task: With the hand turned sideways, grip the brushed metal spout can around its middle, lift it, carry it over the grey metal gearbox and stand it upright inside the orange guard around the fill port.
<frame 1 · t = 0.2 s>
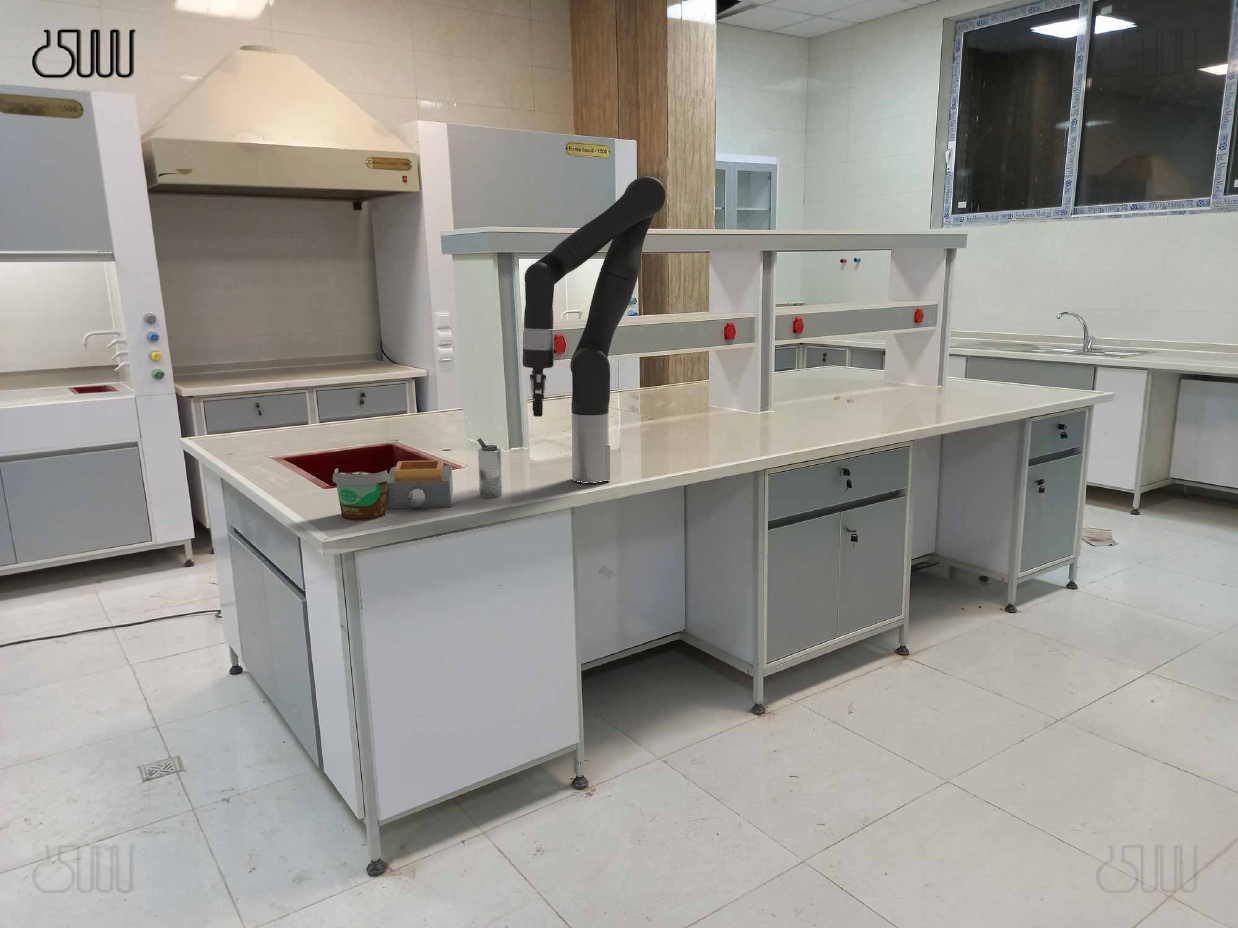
hand: (537, 414, 210), 17 cm above the countertop, tool pointing down, fingers open, 8 cm apart
gearbox: (420, 499, 197), on the countertop
spout can: (490, 495, 201), on the countertop
food container: (358, 518, 182), on the countertop
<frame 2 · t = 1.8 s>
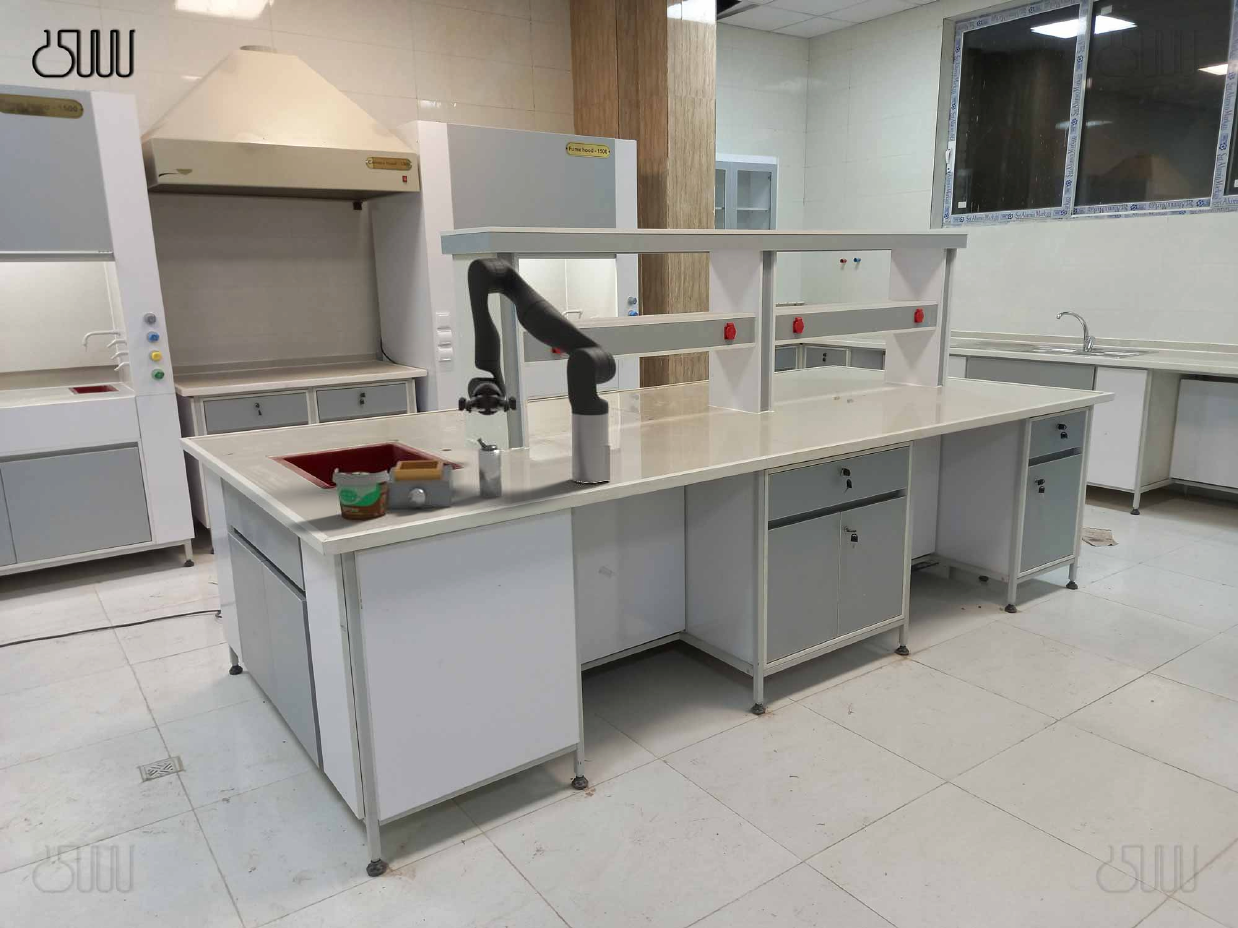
hand: (487, 408, 207), 19 cm above the countertop, tool horizontal, fingers open, 8 cm apart
nothing on the countertop moved.
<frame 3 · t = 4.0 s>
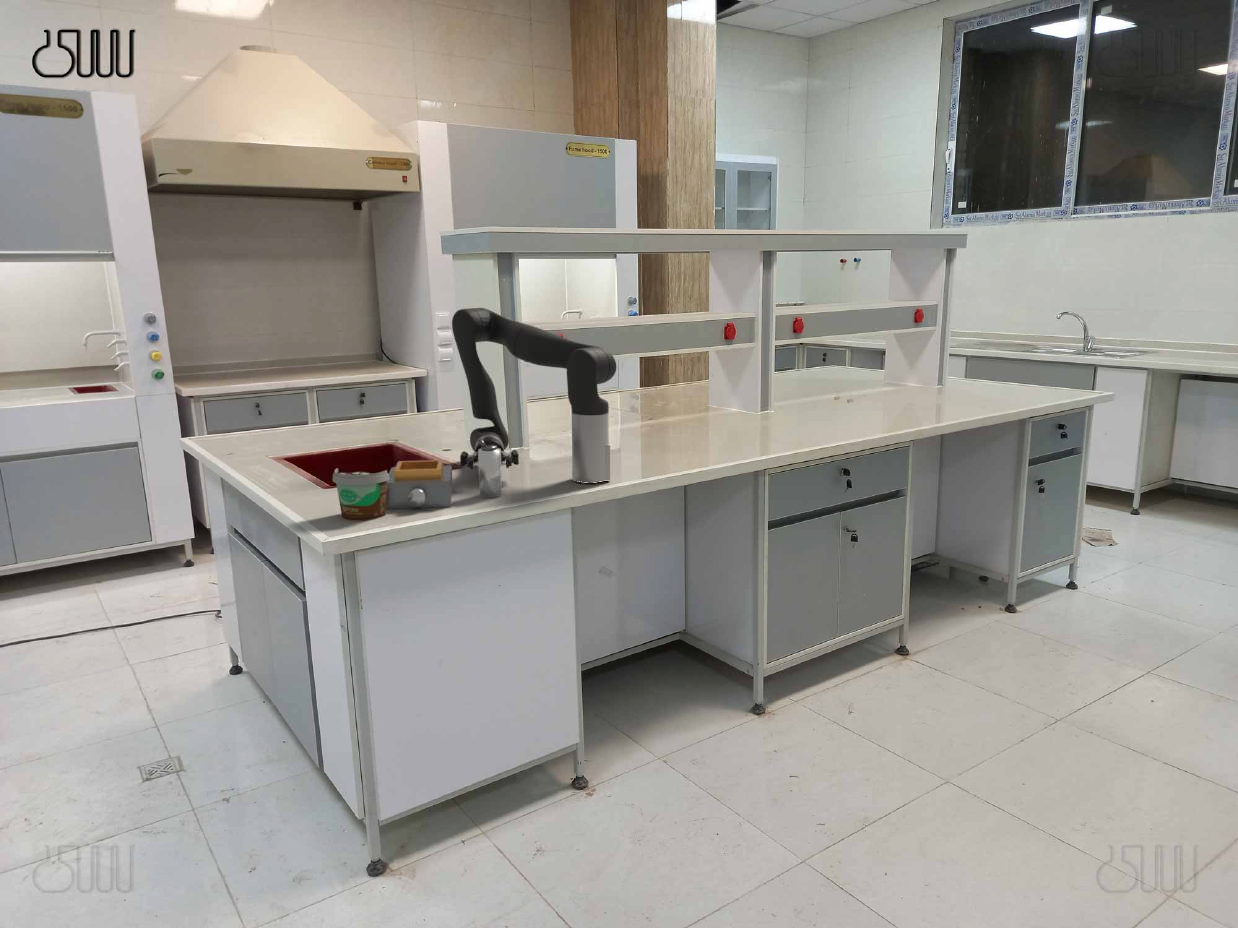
hand: (489, 464, 206), 6 cm above the countertop, tool horizontal, fingers open, 8 cm apart
nothing on the countertop moved.
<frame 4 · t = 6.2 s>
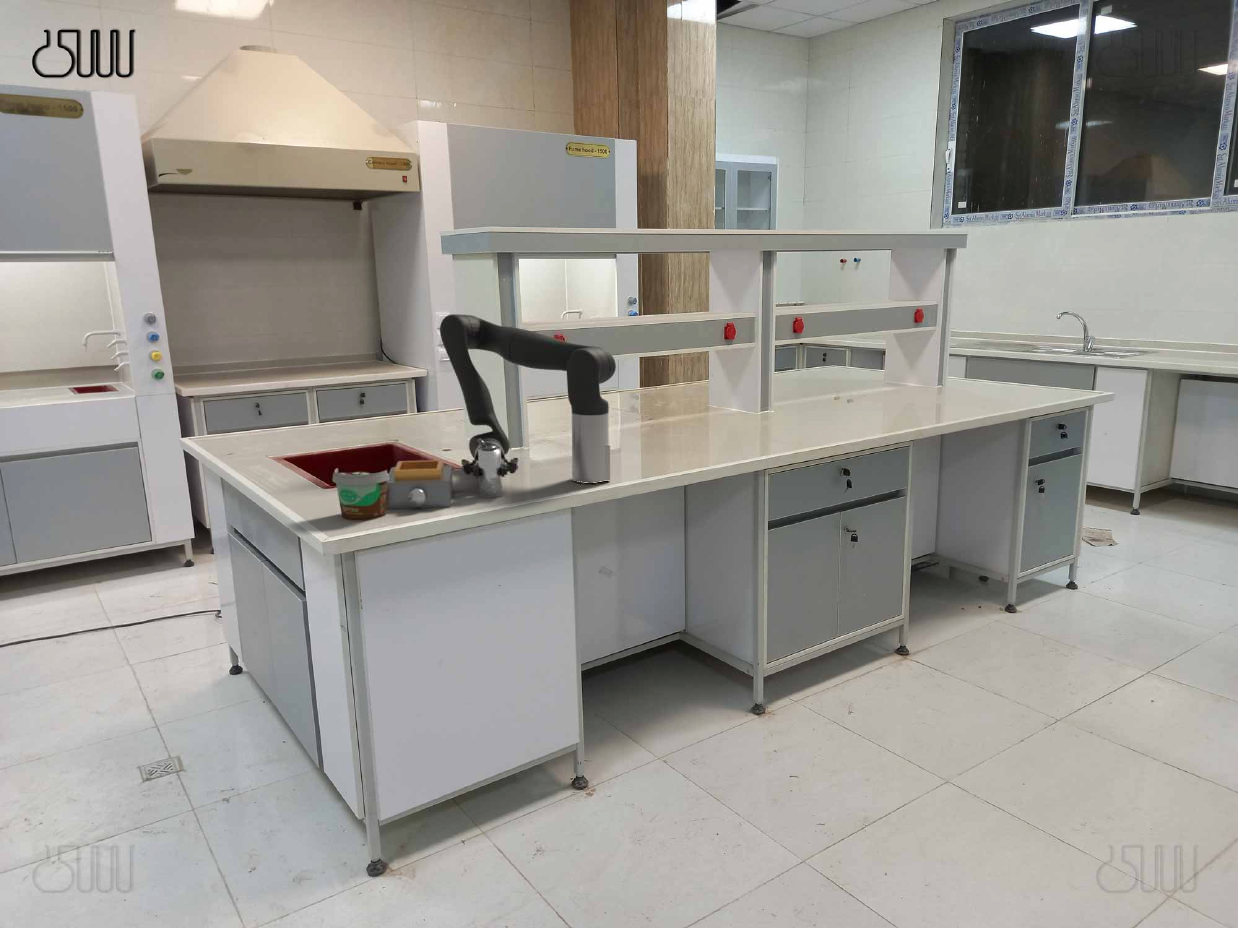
hand: (490, 473, 197), 6 cm above the countertop, tool horizontal, fingers closed on spout can, 5 cm apart
spout can: (490, 495, 201), on the countertop, touching gripper
everything else where it was.
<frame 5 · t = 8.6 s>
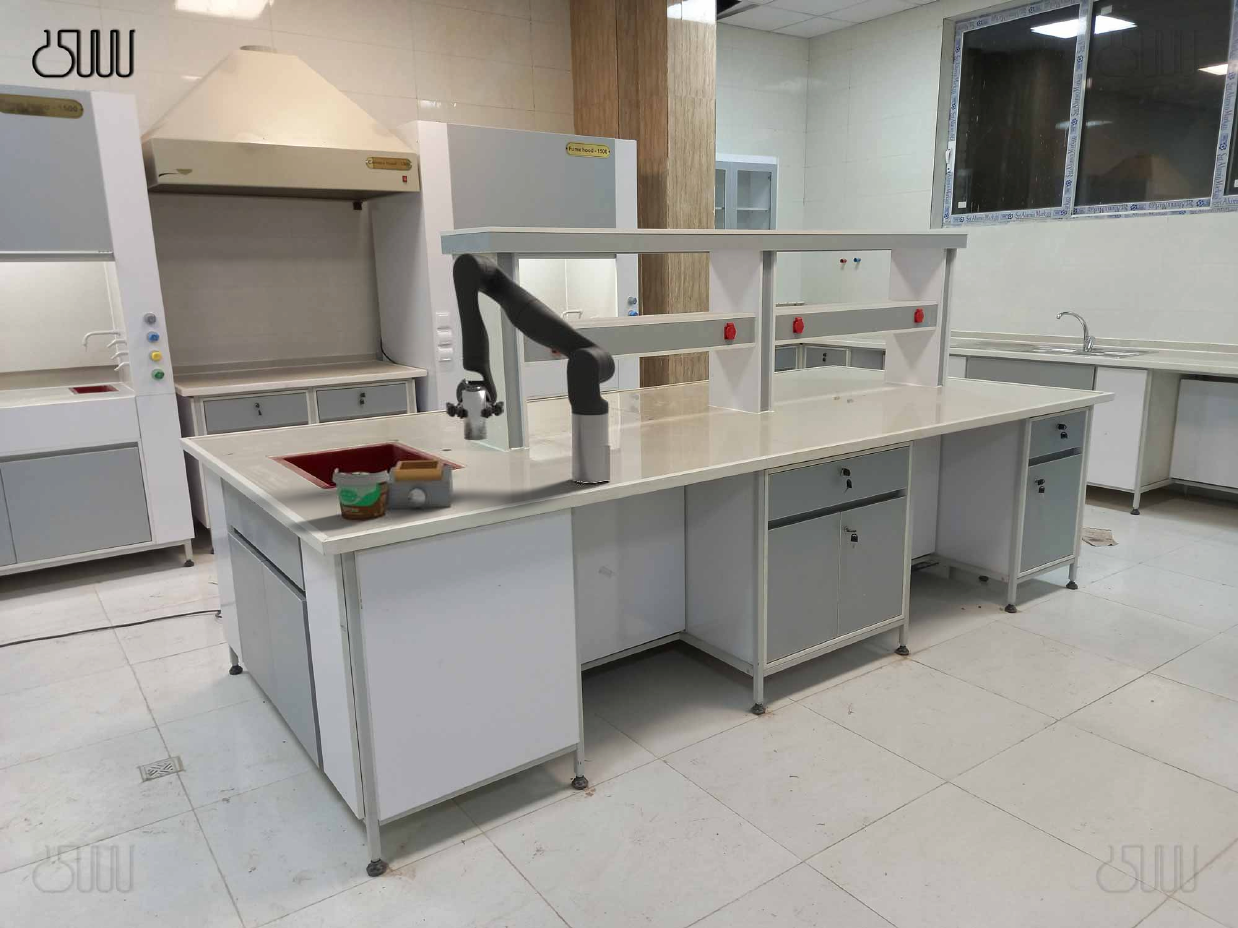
hand: (474, 414, 194), 20 cm above the countertop, tool horizontal, fingers closed on spout can, 5 cm apart
spout can: (475, 438, 197), point 14 cm above the countertop, touching gripper
everything else where it was.
when the fingers open (13 cm above the countertop, at t = 11.4 s): spout can drops 1 cm, resting on gearbox.
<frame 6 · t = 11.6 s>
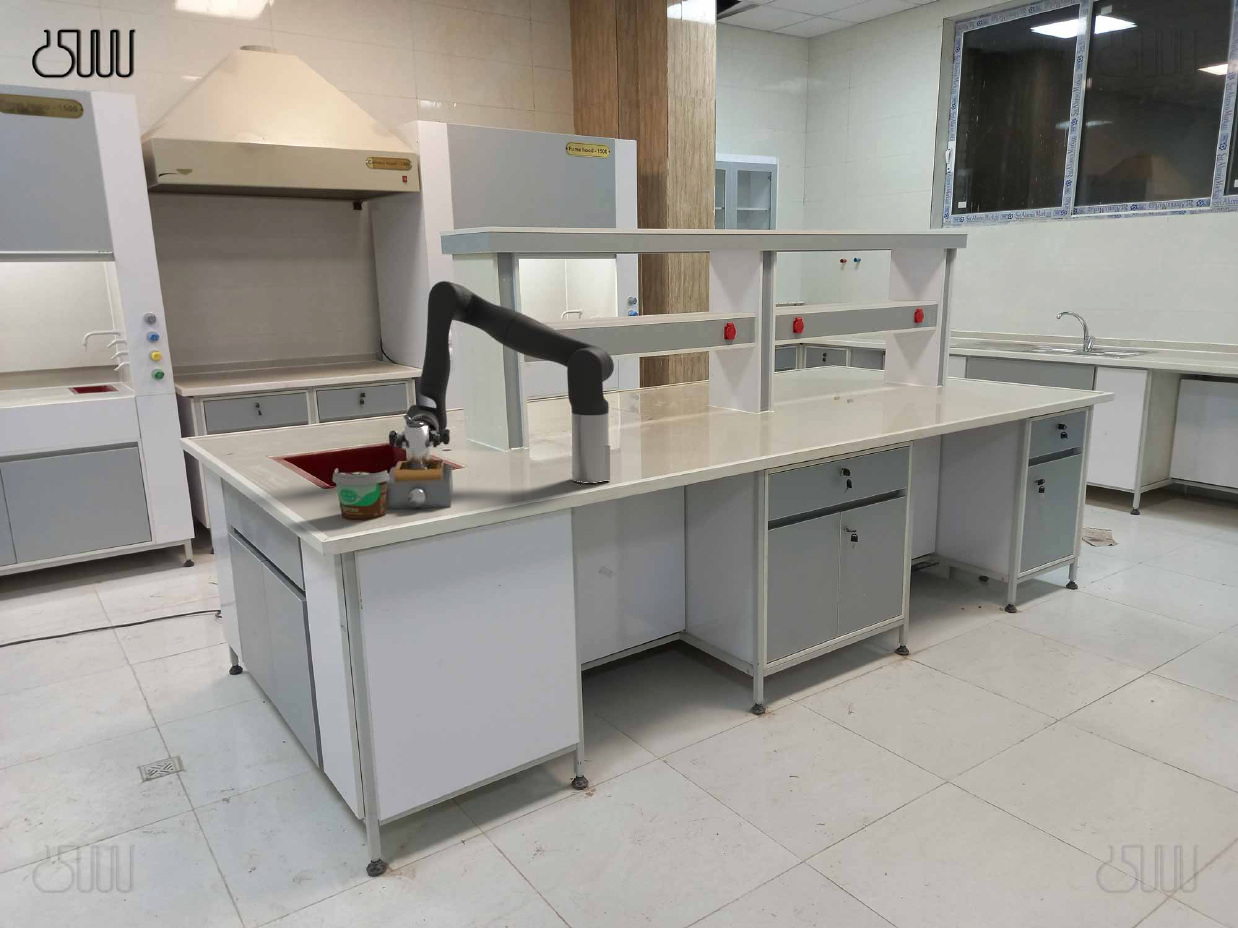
hand: (417, 443, 192), 13 cm above the countertop, tool horizontal, fingers open, 7 cm apart
spout can: (419, 473, 196), point 6 cm above the countertop, touching gearbox
everything else where it was.
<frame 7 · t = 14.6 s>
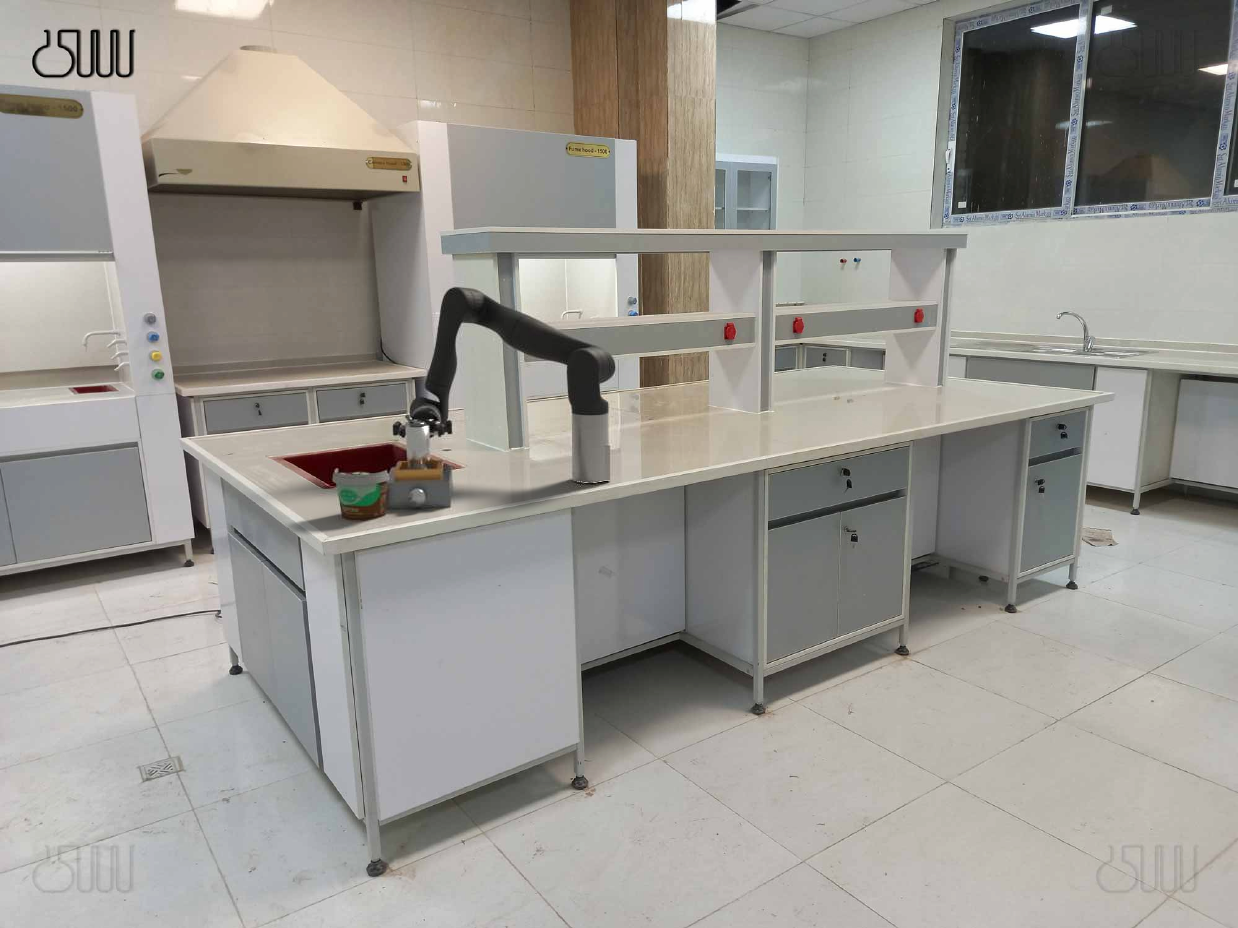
hand: (421, 433, 205), 14 cm above the countertop, tool horizontal, fingers open, 8 cm apart
nothing on the countertop moved.
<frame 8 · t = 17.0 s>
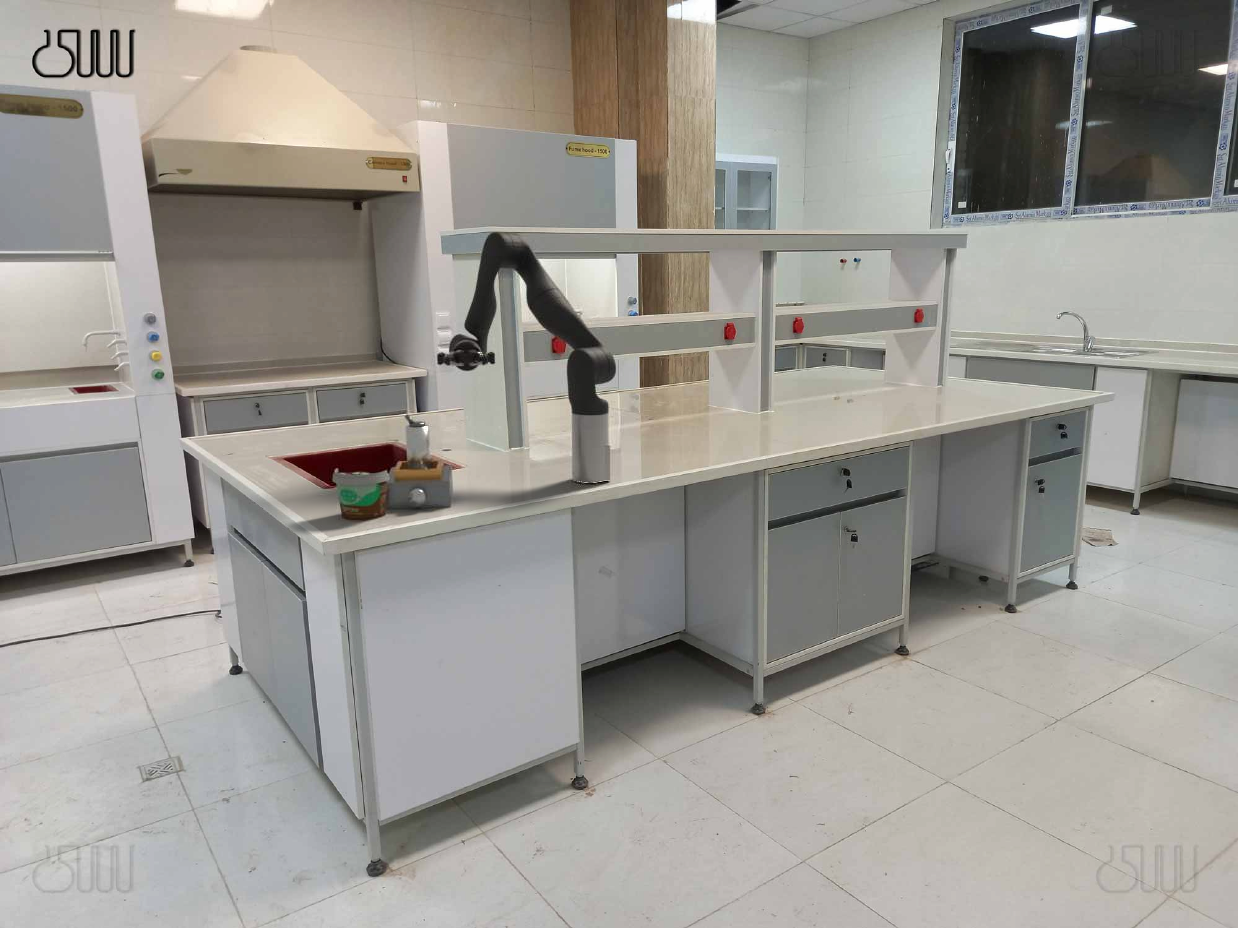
hand: (465, 361, 209), 30 cm above the countertop, tool horizontal, fingers open, 8 cm apart
nothing on the countertop moved.
at the end: spout can 0.1 cm off-centre on the gearbox, point 6.1 cm above the gearbox's base; spout can tilted 0°; the gripper is holding nothing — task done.
